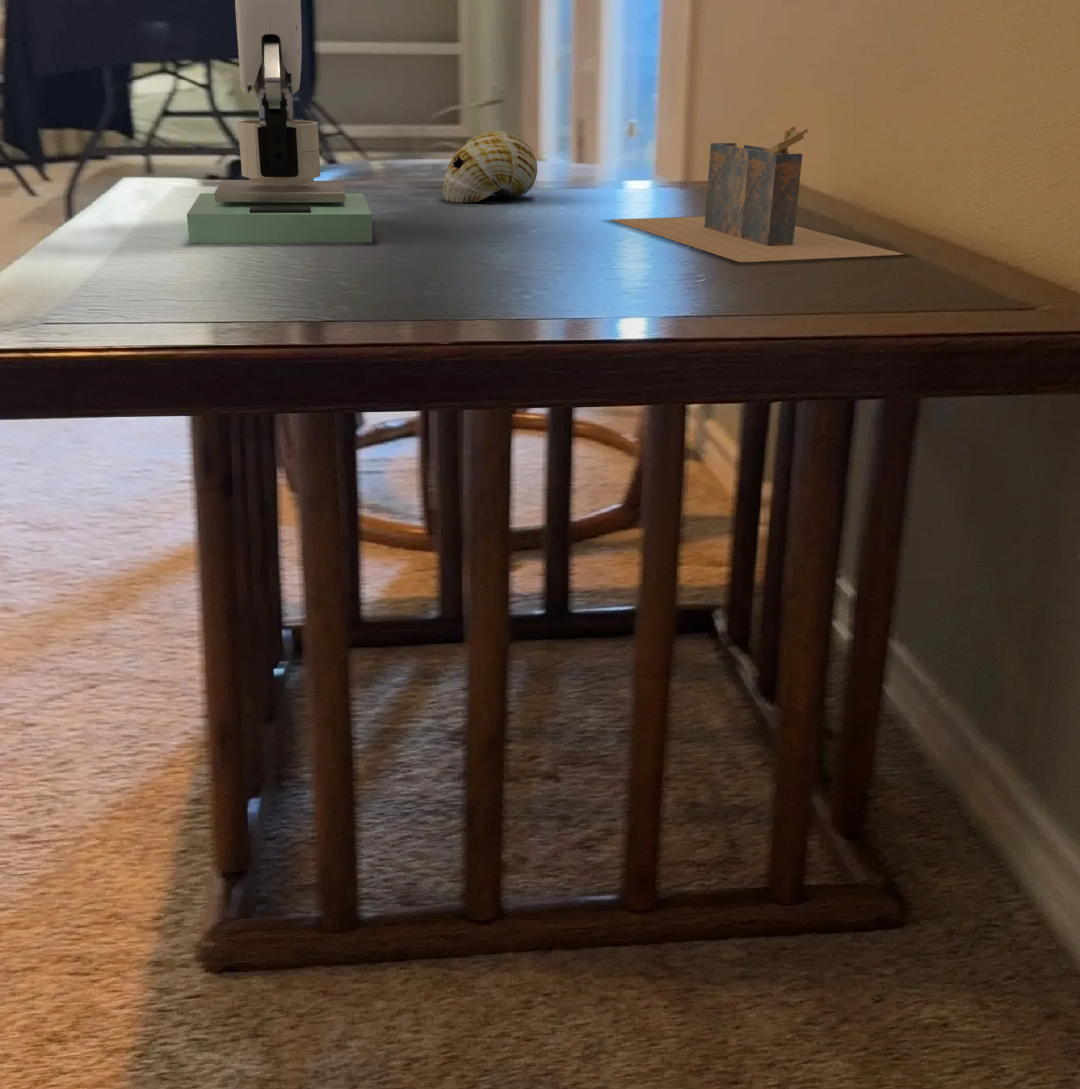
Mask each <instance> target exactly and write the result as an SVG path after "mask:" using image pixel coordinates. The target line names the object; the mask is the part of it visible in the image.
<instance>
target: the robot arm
mask: <svg viewBox="0 0 1080 1089" xmlns="http://www.w3.org/2000/svg"><path fill="white" fill-rule="evenodd" d="M234 7H235V8H234V9H235V22H236V37H237V38H236V40H237V50H238V51H237V54H238V68H239V87H240V88H239V89H240V90H241V91H242V92H243V93H245V94H247V95H248V94H250V93H251V92H252V91H253V86H254V87H255V86H256V85H257V90H256V91H257V92H256V93H257V100H258V102H257V103H258V120H259V122H260V127H257V130H258V144H259V159H260V173H261V175H262V176H263V177H296V176H298V174H299V169H298V152H297V134H296V128H294V127H293V120H295V117H294V116H295V115H294V114H295V113H294V101H293V100H294V99H293V98H294V97H293V95H294V94H295V93H297V92H299V90H300V87H301V86H300V84H301V76H302V60H303V59H302V56H303V55H302V54H303V52H302V50H303V45H302V43H303V39H302V38H303V37H302V36H303V34H302V33H303V30H302V29H303V28H302V1H301V0H234ZM286 123H287V127H286ZM266 125H267V127H266Z"/></svg>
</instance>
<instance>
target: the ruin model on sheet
mask: <svg viewBox="0 0 1080 1089" xmlns="http://www.w3.org/2000/svg"><path fill="white" fill-rule="evenodd" d="M796 129H797V128H796V126H792V127H791V128H789V129H788V130H784V133H783V134H784V135H783V141H781V142H779V143H776V144H774V145H773V146H771V147H770V148H769V147H762V146H755V145H751V144H744V145H743V147H739V146H738V143H737V142H710V151H709V162H708V177H707V191H706V201H705V202H706V203H705V214H704V215H705V216H677V217H647V218H646V217H645V218H644V217H643V218H617V219H616V218H615V219H612V221H613V222H616V223H619V224H621V225H625V226H628V227H631V228H634V229H637V230H640V231H644V232H646V233H649V234H652V235H655V236H658V237H662V238H665V239H667V240H671V241H674V242H676V243H680V244H682V245H685V246H689V247H692V248H695V249H698V250H701V251H704V252H708V253H710V254H714V255H716V256H720V257H721V258H722V257H723V258H725V259H729V260H731V261H735V262H738V263H756V262H757V263H758V262H777V261H780V262H781V261H797V260H798V261H799V260H819V259H821V260H822V259H839V258H860V257H861V258H862V257H881V256H901V255H905V253H903V252H898V251H895V250H890V249H886V248H883V247H879V246H876V245H872V244H868V243H863V242H860V241H856V240H852V239H848V238H844V237H841V236H836V235H832V234H828V233H825V232H821V231H817V230H813V229H809V228H805V227H801V226H797V225H796V220H797V219H796V218H797V210H798V209H797V208H798V202H799V201H798V199H799V191H800V181H801V180H800V179H801V173H802V162H803V153H789V151H788V150H789V147H791V146H793V145H794V144H796V143H798V142H800V141H801V140H803V139H804V134H805V133H807V134H808V132H809V131H808V128H806V129H804V130H802V131H797V130H796Z"/></svg>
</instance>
